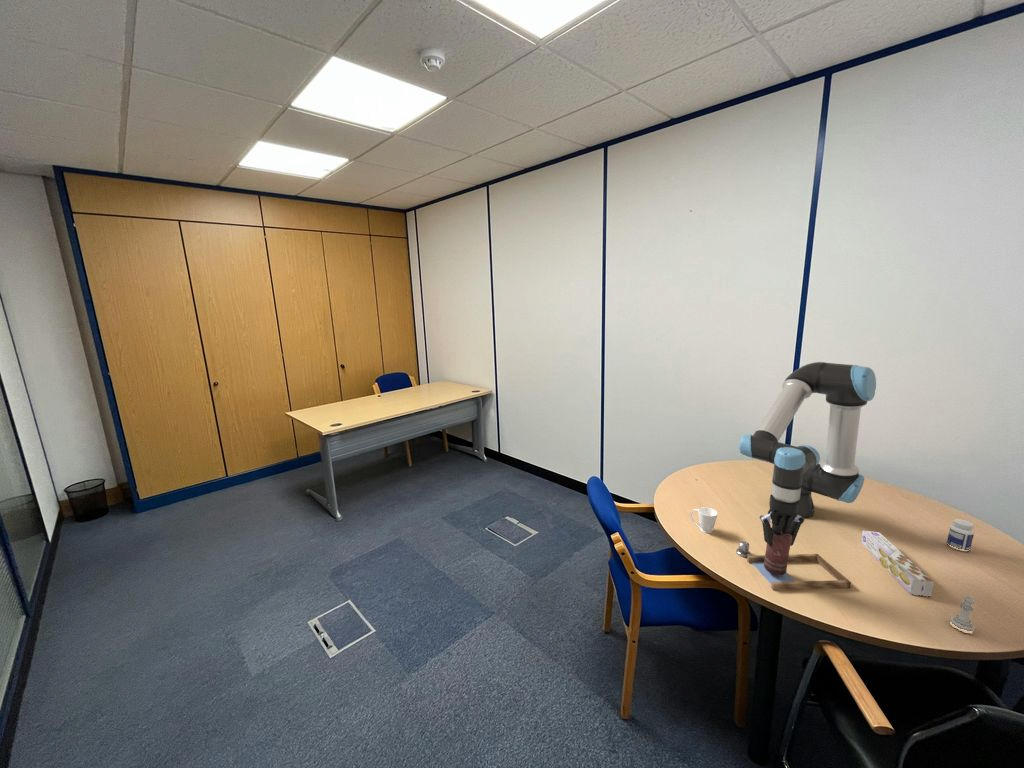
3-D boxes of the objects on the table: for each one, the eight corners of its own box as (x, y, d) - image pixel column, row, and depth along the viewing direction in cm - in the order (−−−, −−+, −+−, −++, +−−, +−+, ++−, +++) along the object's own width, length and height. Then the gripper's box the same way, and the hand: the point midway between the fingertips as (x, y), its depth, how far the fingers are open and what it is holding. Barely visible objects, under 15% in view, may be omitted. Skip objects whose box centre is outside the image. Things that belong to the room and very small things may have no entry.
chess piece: (974, 637, 107) (983, 605, 104) (950, 628, 110) (958, 597, 107) (972, 627, 110) (980, 595, 108) (948, 619, 113) (956, 588, 111)
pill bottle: (962, 544, 145) (968, 519, 142) (974, 554, 139) (980, 528, 137) (942, 541, 146) (947, 516, 144) (952, 551, 141) (958, 525, 139)
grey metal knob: (745, 549, 145) (747, 539, 144) (753, 557, 141) (754, 547, 140) (733, 549, 145) (734, 540, 144) (740, 557, 141) (741, 547, 140)
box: (859, 543, 147) (862, 529, 146) (877, 545, 146) (879, 530, 145) (910, 596, 122) (913, 580, 120) (931, 599, 120) (935, 582, 119)
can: (787, 578, 127) (793, 539, 124) (763, 572, 131) (768, 533, 128) (786, 568, 133) (792, 529, 130) (763, 561, 136) (768, 524, 133)
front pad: (775, 562, 138) (775, 561, 137) (798, 586, 127) (798, 584, 127) (752, 563, 138) (752, 562, 137) (773, 586, 127) (773, 585, 127)
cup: (711, 537, 152) (713, 518, 151) (685, 526, 160) (687, 508, 158) (719, 530, 157) (721, 511, 155) (694, 520, 164) (695, 502, 163)
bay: (816, 559, 139) (817, 553, 138) (850, 587, 125) (851, 582, 125) (747, 561, 139) (747, 555, 138) (772, 590, 125) (773, 584, 125)
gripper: (797, 490, 130) (788, 555, 135) (756, 491, 130) (748, 556, 135) (814, 502, 122) (804, 570, 128) (771, 503, 122) (762, 571, 128)
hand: (775, 563), depth 131 cm, fingers closed
